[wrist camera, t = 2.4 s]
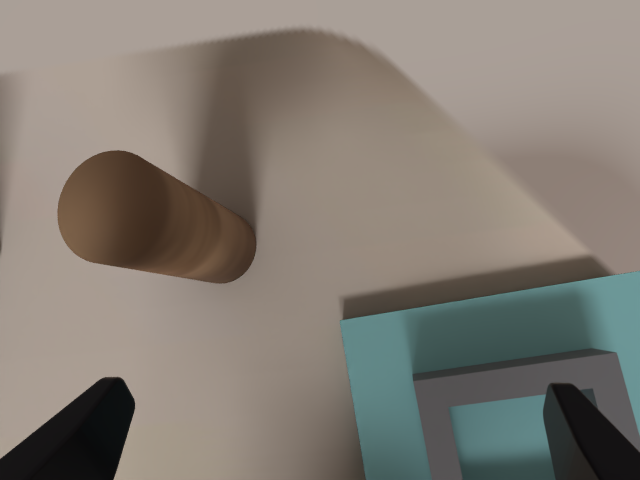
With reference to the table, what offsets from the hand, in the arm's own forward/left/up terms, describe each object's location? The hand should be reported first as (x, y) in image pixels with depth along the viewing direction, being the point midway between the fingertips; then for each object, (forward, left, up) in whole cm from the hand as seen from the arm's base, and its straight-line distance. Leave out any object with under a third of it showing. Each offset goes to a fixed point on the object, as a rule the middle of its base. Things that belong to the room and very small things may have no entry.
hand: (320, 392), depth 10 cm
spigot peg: (-7, +7, -14) cm, 17 cm away
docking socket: (+6, -5, -14) cm, 16 cm away
